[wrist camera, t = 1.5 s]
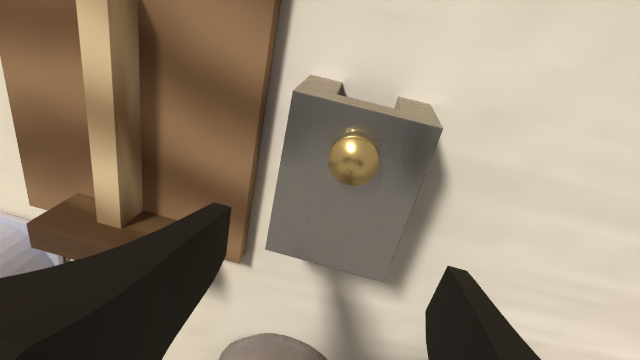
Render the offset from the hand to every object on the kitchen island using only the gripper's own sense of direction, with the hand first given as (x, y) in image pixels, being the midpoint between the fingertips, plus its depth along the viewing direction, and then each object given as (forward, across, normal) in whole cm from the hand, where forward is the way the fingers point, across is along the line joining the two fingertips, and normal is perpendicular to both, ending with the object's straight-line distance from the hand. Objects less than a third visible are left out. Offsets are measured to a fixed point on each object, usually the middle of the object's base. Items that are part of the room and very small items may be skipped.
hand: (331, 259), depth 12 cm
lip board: (+8, +12, -3) cm, 15 cm away
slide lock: (+8, 0, 0) cm, 8 cm away
